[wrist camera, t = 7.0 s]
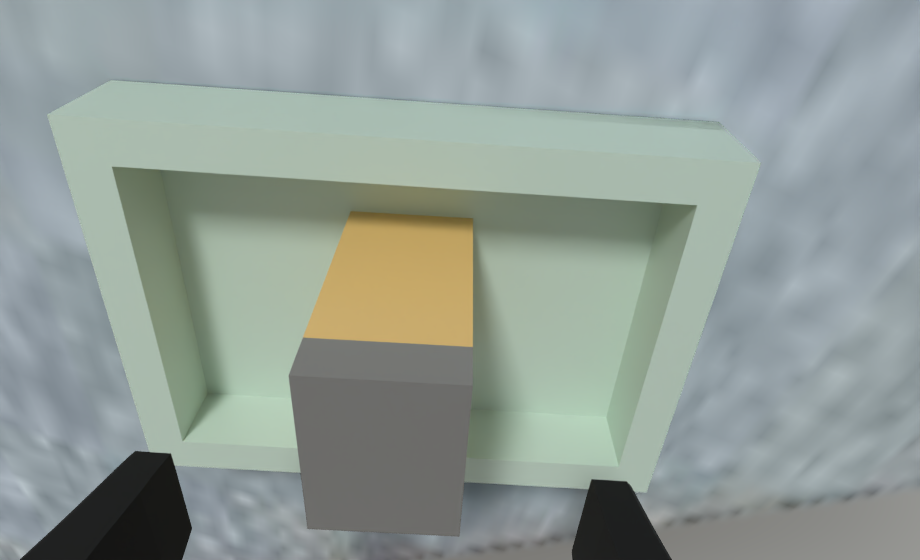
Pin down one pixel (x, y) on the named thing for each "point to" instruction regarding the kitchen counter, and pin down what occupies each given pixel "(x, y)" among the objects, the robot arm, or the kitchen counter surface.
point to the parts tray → (414, 193)
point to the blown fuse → (388, 378)
